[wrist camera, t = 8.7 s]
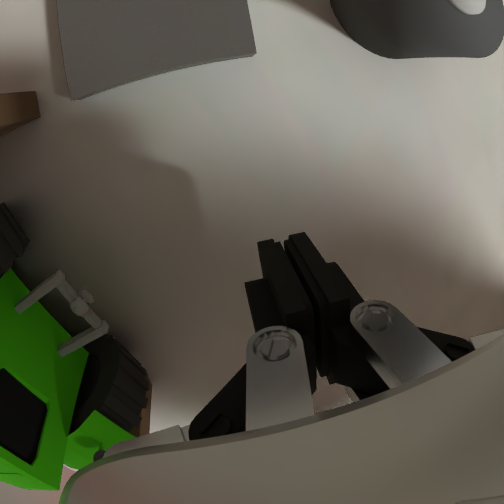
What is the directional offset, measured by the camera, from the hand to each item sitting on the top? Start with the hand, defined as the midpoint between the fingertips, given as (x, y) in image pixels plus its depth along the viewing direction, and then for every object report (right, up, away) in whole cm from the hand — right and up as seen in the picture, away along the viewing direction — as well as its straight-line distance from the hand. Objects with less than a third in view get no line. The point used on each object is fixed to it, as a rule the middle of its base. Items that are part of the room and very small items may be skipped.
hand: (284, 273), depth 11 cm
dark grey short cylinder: (+5, +12, -2) cm, 13 cm away
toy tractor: (-15, -3, +3) cm, 16 cm away
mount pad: (-5, +11, -3) cm, 12 cm away
